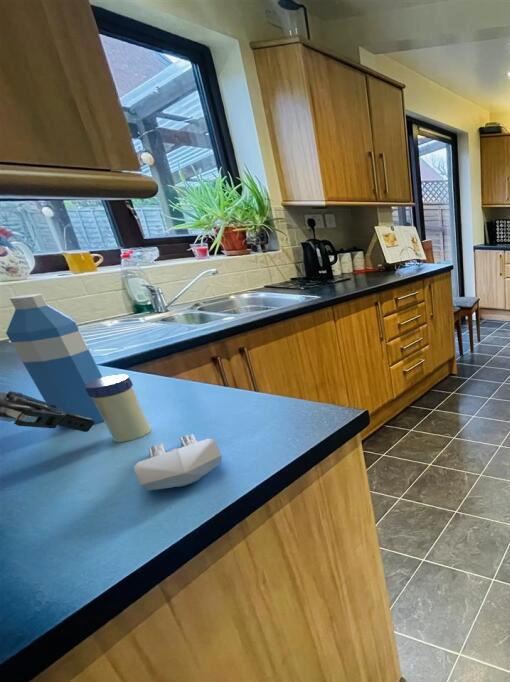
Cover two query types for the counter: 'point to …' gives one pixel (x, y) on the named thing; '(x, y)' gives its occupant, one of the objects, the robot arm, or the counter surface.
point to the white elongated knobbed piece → (178, 463)
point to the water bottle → (54, 355)
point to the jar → (123, 415)
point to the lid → (108, 385)
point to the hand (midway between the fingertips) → (90, 425)
